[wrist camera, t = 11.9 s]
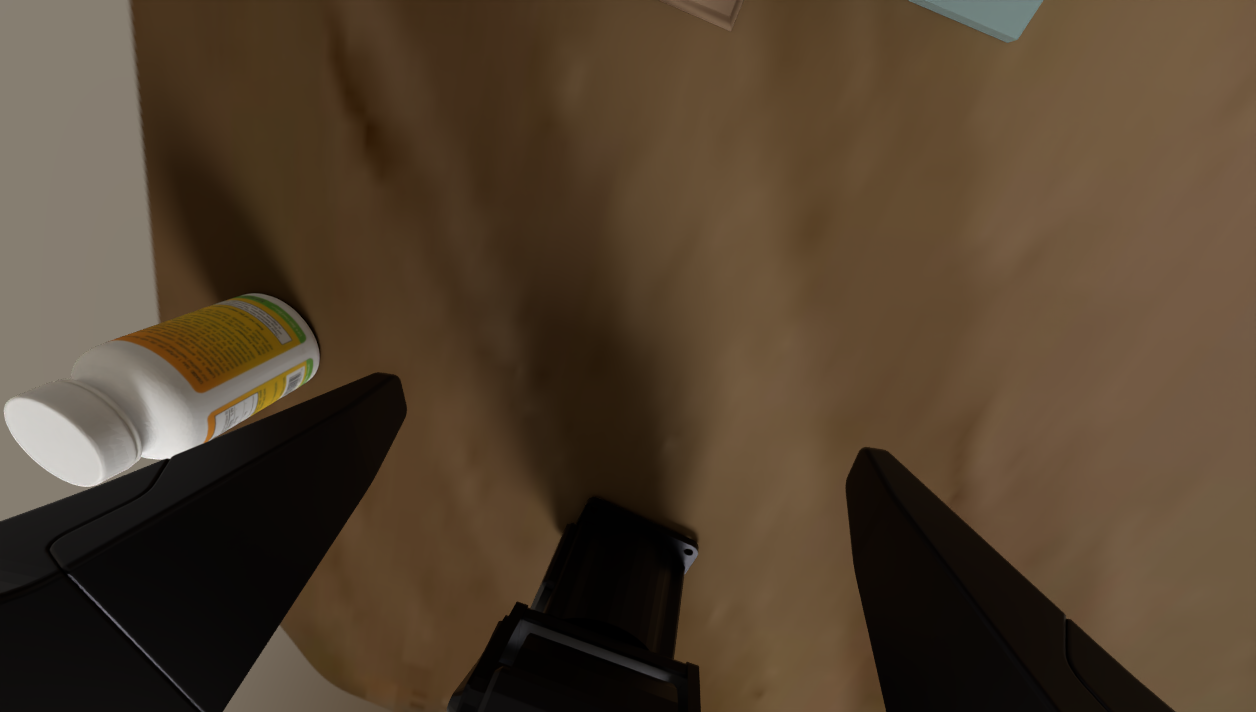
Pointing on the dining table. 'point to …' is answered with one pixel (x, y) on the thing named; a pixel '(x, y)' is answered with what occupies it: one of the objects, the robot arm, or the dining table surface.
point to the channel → (710, 10)
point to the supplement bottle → (164, 388)
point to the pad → (987, 14)
